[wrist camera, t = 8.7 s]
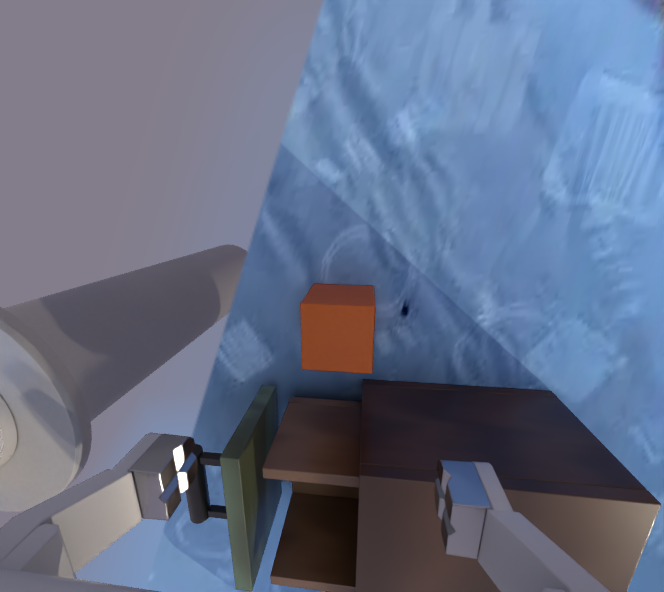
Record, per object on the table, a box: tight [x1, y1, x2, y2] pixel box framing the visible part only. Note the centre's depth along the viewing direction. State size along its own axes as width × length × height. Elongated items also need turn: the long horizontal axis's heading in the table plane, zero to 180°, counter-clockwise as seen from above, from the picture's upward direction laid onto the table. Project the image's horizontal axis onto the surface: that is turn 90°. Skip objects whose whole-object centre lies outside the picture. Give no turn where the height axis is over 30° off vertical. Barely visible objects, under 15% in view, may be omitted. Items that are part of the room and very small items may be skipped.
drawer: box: [186, 385, 362, 592], centre depth 23 cm, size 18×11×8 cm, turn 89°
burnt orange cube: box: [300, 284, 375, 374], centre depth 22 cm, size 5×5×5 cm
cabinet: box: [355, 379, 661, 592], centre depth 22 cm, size 15×13×10 cm
